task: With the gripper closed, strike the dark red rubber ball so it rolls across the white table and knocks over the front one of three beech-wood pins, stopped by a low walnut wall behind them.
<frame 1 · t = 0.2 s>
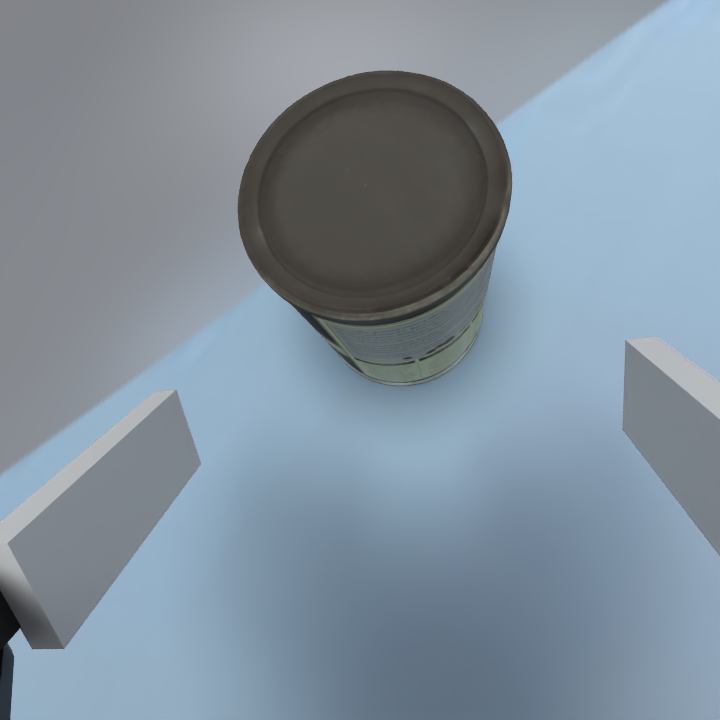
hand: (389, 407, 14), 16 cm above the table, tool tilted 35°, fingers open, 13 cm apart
coffee can: (402, 311, 31), on the table
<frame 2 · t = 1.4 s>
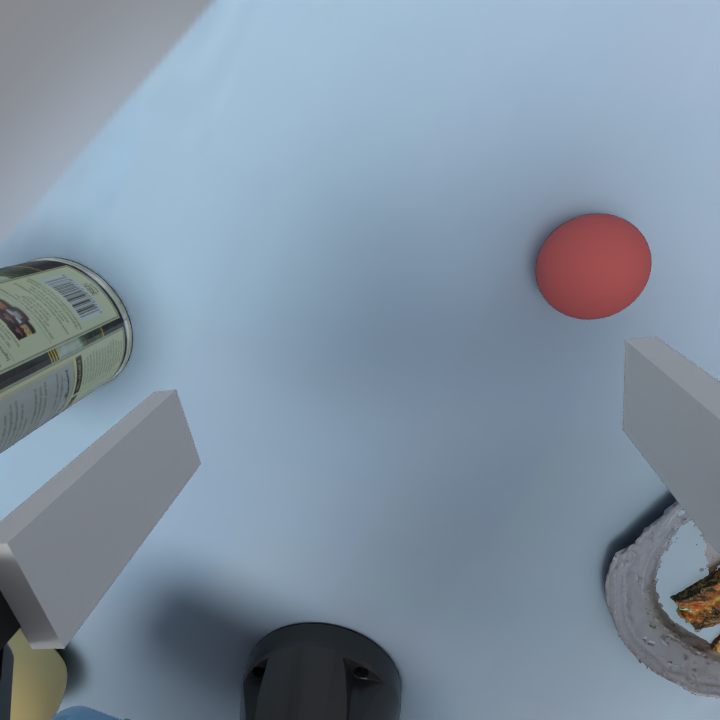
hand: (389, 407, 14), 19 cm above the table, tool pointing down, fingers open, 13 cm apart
coffee can: (70, 325, 36), on the table
ball: (590, 267, 28), on the table
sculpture: (30, 649, 50), on the table
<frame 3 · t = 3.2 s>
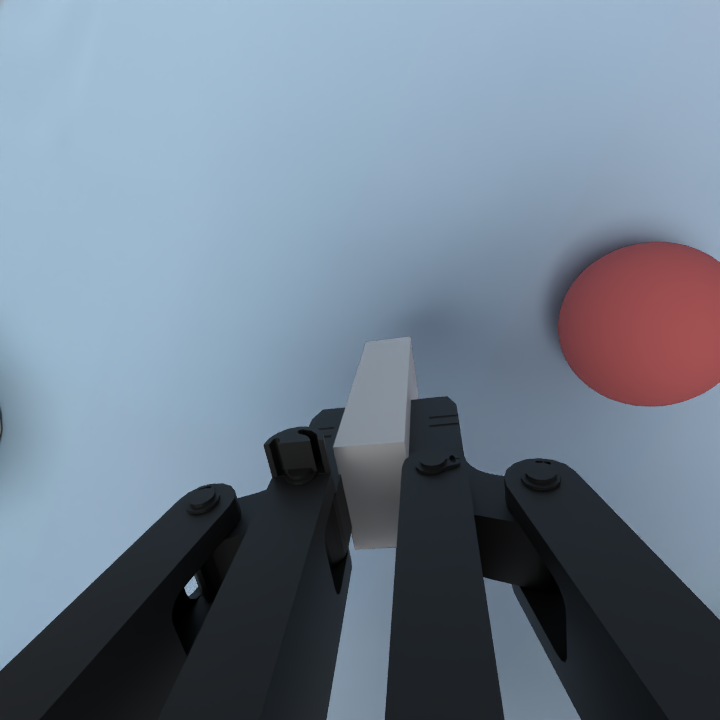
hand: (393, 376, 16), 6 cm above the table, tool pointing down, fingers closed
ball: (645, 325, 18), on the table
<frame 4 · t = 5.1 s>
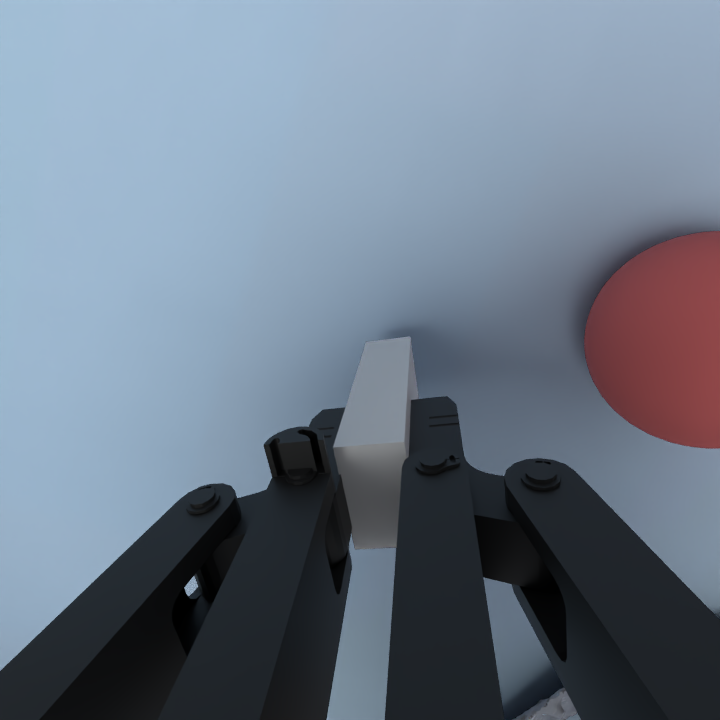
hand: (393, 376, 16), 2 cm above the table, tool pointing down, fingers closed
ball: (701, 340, 13), on the table
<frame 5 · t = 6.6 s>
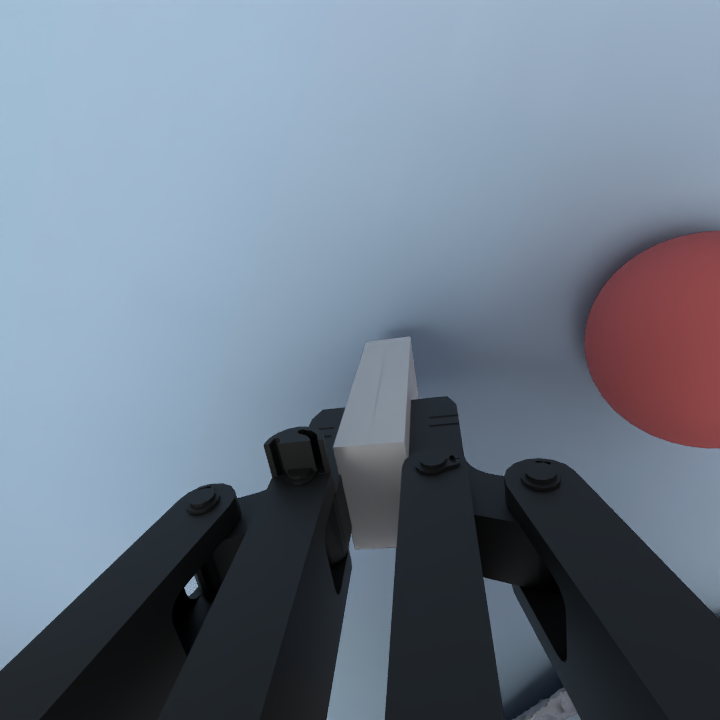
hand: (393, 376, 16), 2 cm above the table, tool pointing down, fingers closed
ball: (701, 340, 13), on the table
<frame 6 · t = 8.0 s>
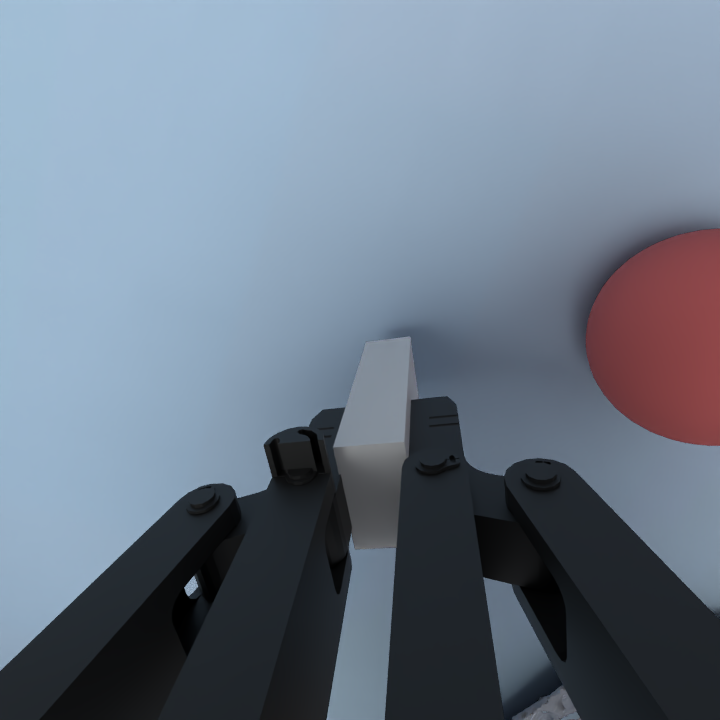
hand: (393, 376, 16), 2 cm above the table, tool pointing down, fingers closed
ball: (702, 338, 13), on the table
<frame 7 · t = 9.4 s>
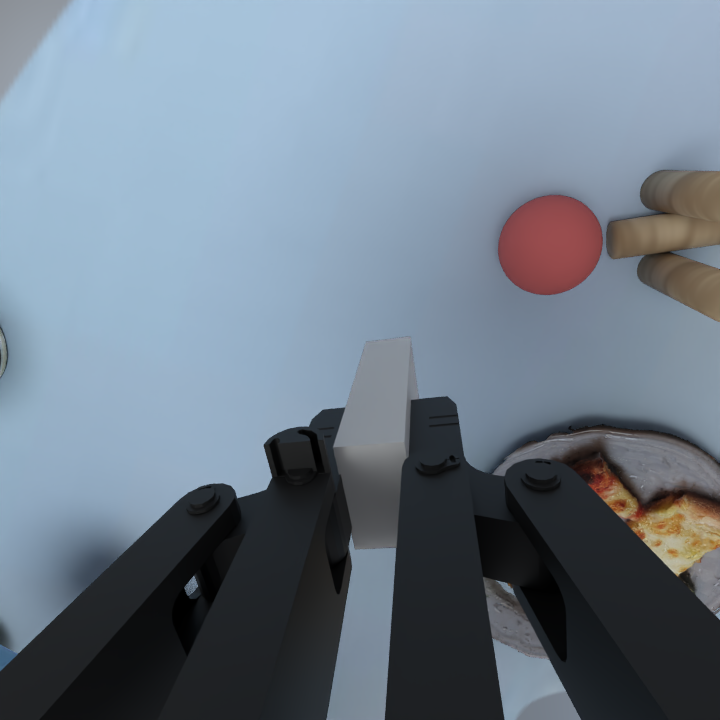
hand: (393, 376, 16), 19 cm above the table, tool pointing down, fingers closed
pin 2: (660, 190, 30), on the table
ball: (548, 246, 30), on the table
pin 1: (656, 268, 32), on the table
food plate: (583, 539, 42), on the table
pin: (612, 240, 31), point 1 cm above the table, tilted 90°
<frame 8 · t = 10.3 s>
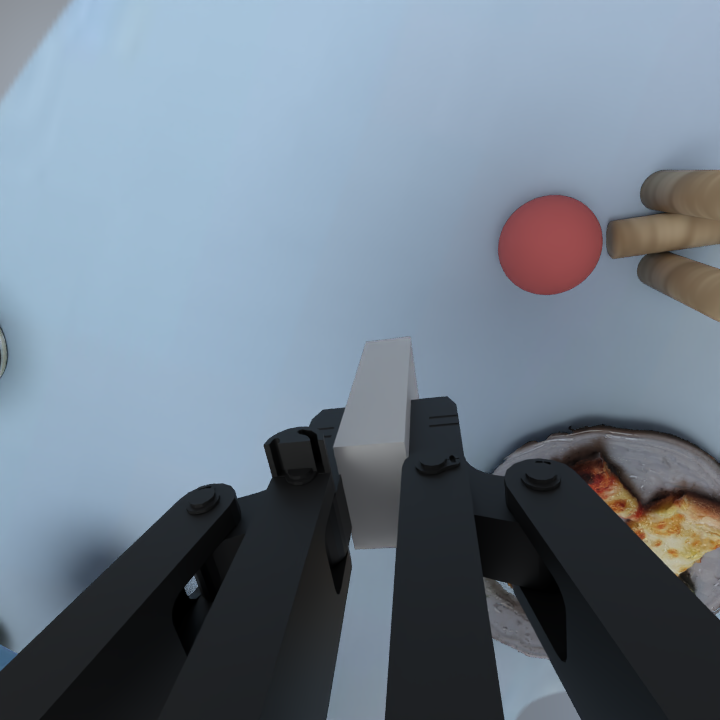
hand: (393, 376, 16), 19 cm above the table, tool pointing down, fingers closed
pin 2: (660, 190, 30), on the table
ball: (548, 246, 30), on the table
pin 1: (656, 268, 32), on the table
food plate: (583, 539, 42), on the table
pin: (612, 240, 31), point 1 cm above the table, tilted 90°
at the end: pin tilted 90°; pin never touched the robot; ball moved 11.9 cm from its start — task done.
